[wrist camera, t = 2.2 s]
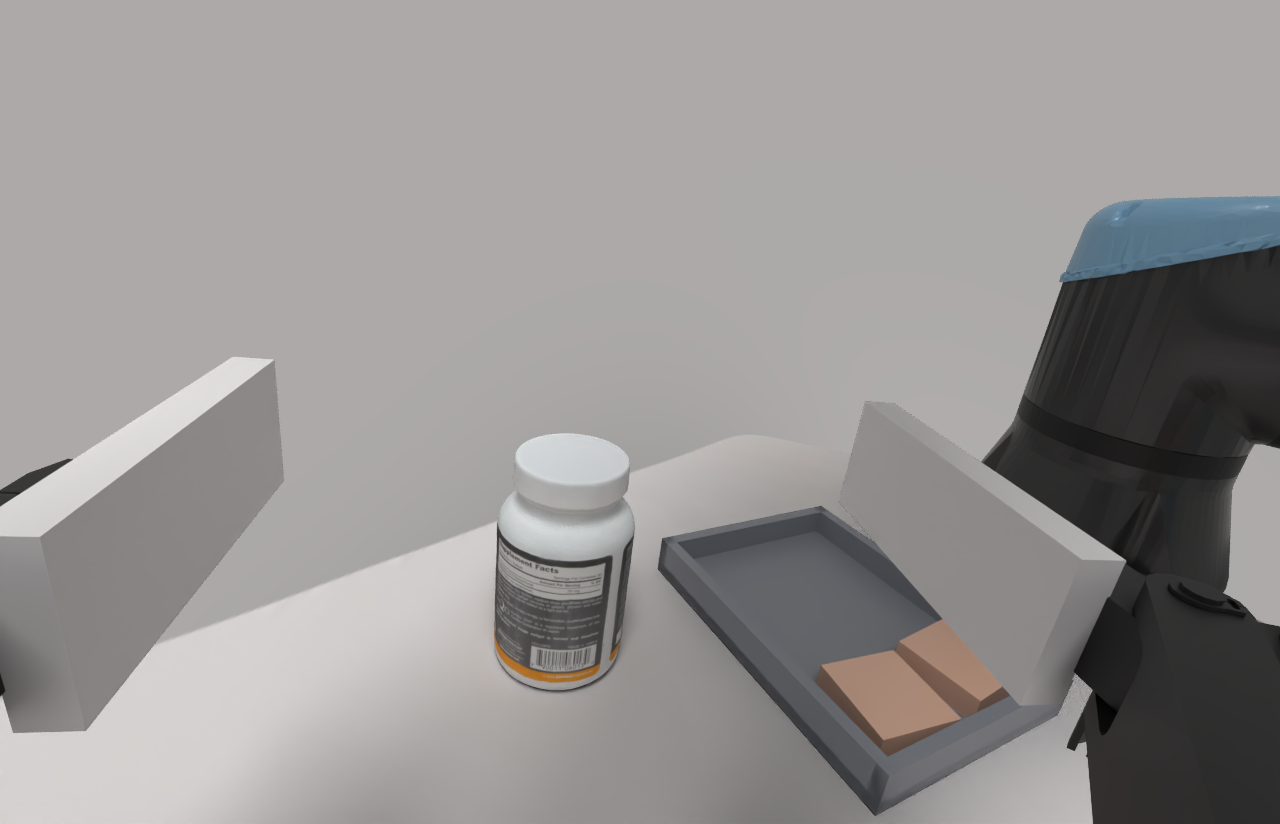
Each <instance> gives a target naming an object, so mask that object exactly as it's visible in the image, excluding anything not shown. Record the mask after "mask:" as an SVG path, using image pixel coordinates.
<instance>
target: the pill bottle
mask: <svg viewBox="0 0 1280 824" xmlns="http://www.w3.org/2000/svg"><path fill="white" fill-rule="evenodd" d="M629 471H630V461H629V458H628V456H627V454H626V453H625V452H624V451H623V450H622V449H621V448H619V447H618V446H616V445H615V444H613V443H611V442H608V441H606V440H603V439H600V438H596V437H592V436H587V435H581V434H572V433H563V434H551V435H544V436H540V437H536V438H533V439H531V440H529V441H527V442H525V443H524V444H522V445H521V446H520V447H519V448H518V450H517V451H516V454H515V458H514V474H513V481H514V485H515V488H516V490H515V491H514V492H513V493H511V494H510V496H509V497H508V498H507V499H506V500H505V502H504V504H503V505H502V508H501V510H500V513H499V517H498V523H497V557H496V559H497V561H496V589H495V622H494V628H495V630H494V638H495V651H496V655H497V657H498V659H499V662H500V663H501V664H502V666H503V667H504V668H505V669H506V671H507V672H508V673H509V674H510V675H511V676H513V677H514V678H515V679H517V680H519V681H521V682H523V683H525V684H527V685H530V686H533V687H537V688H540V689H547V690H566V689H573V688H576V687H580V686H582V685H586V684H589V683H590V682H592V681H594V680H596V679H597V678H599V677H600V676H602V675H603V674H604V673H605V672H606V671H607V670H608V669H609V668H610V666H611V665H612V663H613V662H614V660H615V658H616V655H617V652H618V649H619V643H620V638H621V632H622V623H623V616H624V607H625V600H626V592H627V584H628V577H629V569H630V563H631V554H632V547H633V539H634V530H635V524H634V517H633V514H632V511H631V509H630V507H629V505H628V503H627V502H626V501H625V500H624V498H623V496H624V494H625V493H626V491H627V489H628V483H629Z"/></svg>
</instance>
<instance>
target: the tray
mask: <svg viewBox="0 0 1280 824" xmlns="http://www.w3.org/2000/svg"><path fill="white" fill-rule="evenodd" d="M658 569H659V571H660V572H661V573H662V574H663V575H664V576H665V577H666V579H667V580H668V581H669V582H670V583H671V584H672V585H673V586H674V588H675V589H676V590H677V591H678V592H679V593H680V594H681V596H682V597H683V598H684V599H685V600H686V601H687V602H688V603H689V605H690V606H691V607H692V608H693V609H694V610H695V611H696V613H697V614H698V615H699V616H700V617H701V618H702V619H703V620H704V622H705V623H706V624H707V625H708V626H709V627H710V628H711V630H712V631H713V632H714V633H715V634H716V635H717V636H718V637H719V639H720V640H721V641H722V642H723V643H724V644H725V645H726V647H727V648H728V649H729V650H730V651H731V652H732V653H733V654H734V656H735V657H736V658H737V659H738V660H739V661H740V662H741V664H742V665H743V666H744V667H745V668H746V669H747V670H748V672H749V673H750V674H751V675H752V676H753V677H754V678H755V679H756V681H757V682H758V683H759V684H760V685H761V686H762V687H763V689H764V690H765V691H766V692H767V693H768V694H769V695H770V696H771V698H772V699H773V700H774V701H775V702H776V703H777V704H778V706H779V707H780V708H781V709H782V710H783V711H784V712H785V713H786V715H787V716H788V717H789V718H790V719H791V720H792V721H793V723H794V724H795V725H796V726H797V727H798V728H799V729H800V730H801V732H802V733H803V734H804V735H805V736H806V737H807V738H808V740H809V741H810V742H811V743H812V744H813V745H814V746H815V747H816V749H817V750H818V751H819V752H820V753H821V754H822V755H823V757H824V758H825V759H826V760H827V761H828V762H829V763H830V764H831V766H832V767H833V768H834V769H835V770H836V771H837V772H838V774H839V775H840V776H841V777H842V778H843V779H844V780H845V781H846V783H847V784H848V785H849V786H850V787H851V788H852V789H853V791H854V792H855V793H856V794H857V795H858V796H859V797H860V798H861V800H862V801H863V802H864V803H865V804H866V805H867V806H868V808H869V809H870V810H871V811H872V812H873V813H874V814H875V816H876V815H877V814H879V813H881V812H883V811H885V810H886V809H888V808H890V807H892V806H894V805H895V804H897V803H899V802H901V801H903V800H904V799H906V798H908V797H910V796H912V795H913V794H915V793H917V792H919V791H921V790H923V789H924V788H926V787H928V786H930V785H932V784H933V783H935V782H937V781H939V780H941V779H942V778H944V777H946V776H948V775H950V774H951V773H953V772H955V771H957V770H959V769H960V768H962V767H964V766H966V765H968V764H969V763H971V762H973V761H975V760H977V759H978V758H980V757H982V756H984V755H986V754H987V753H989V752H991V751H993V750H995V749H996V748H998V747H1000V746H1002V745H1004V744H1005V743H1007V742H1009V741H1011V740H1013V739H1014V738H1016V737H1018V736H1020V735H1022V734H1023V733H1025V732H1027V731H1029V730H1031V729H1032V728H1034V727H1036V726H1038V725H1040V724H1041V723H1043V722H1045V721H1047V720H1049V719H1051V718H1052V717H1054V716H1056V715H1058V713H1059V711H1060V709H1061V707H1062V704H1063V702H1064V700H1065V698H1066V696H1067V694H1068V691H1069V689H1070V687H1071V685H1072V683H1073V681H1074V680H1072V681H1071V683H1070V685H1069V688H1068V690H1067V692H1066V694H1065V696H1064V699H1063V701H1062V703H1061V705H1028V706H1019V704H1018V703H1017V702H1016V701H1015V700H1014V699H1013V698H1012V697H1011V696H1009V697H1007V698H1005V699H1003V700H1001V701H999V702H997V703H995V704H993V705H991V706H989V707H987V708H985V709H983V710H981V711H979V712H977V713H975V714H973V715H971V716H969V717H967V718H965V717H964V716H963V715H962V714H960V713H959V712H958V711H956V710H955V709H954V708H952V707H951V706H950V705H949V704H947V703H946V702H945V701H944V702H945V703H946V704H947V705H948V706H949V707H950V708H951V709H952V710H953V711H954V712H955V713H956V714H957V715H958V716H959V717H960V718H961V721H959V722H957V723H955V724H953V725H951V726H949V727H947V728H944V729H942V730H940V731H938V732H936V733H934V734H932V735H930V736H928V737H926V738H924V739H922V740H920V741H918V742H916V743H914V744H912V745H910V746H908V747H906V748H904V749H902V750H900V751H898V752H896V753H894V754H892V755H890V756H888V757H887V755H886V754H885V753H884V752H883V751H882V750H881V749H880V748H879V747H878V746H877V745H876V744H875V743H874V742H873V741H872V740H871V739H870V738H869V737H868V736H867V735H866V734H865V733H864V732H863V731H862V730H861V729H860V728H859V727H858V726H857V725H856V724H855V723H854V722H853V721H852V720H851V719H850V718H849V717H848V716H847V715H846V714H845V713H844V712H843V711H842V710H841V709H840V708H839V707H838V706H837V705H836V704H835V703H834V702H833V701H832V700H831V699H830V697H829V696H828V695H827V694H826V693H825V692H824V691H823V690H822V689H821V688H820V687H819V686H818V685H817V684H816V682H817V678H818V675H819V671H820V668H821V665H824V664H829V663H833V662H838V661H843V660H848V659H852V658H857V657H862V656H867V655H872V654H876V653H881V652H886V651H891V650H894V651H895V652H896V649H897V646H898V643H899V641H900V640H902V639H904V638H906V637H908V636H910V635H912V634H914V633H916V632H918V631H920V630H922V629H924V628H926V627H928V626H930V625H932V624H934V623H936V622H938V621H940V620H942V618H941V616H940V615H939V614H938V613H937V612H936V611H935V610H934V609H933V607H932V606H931V605H930V604H929V603H928V602H927V601H926V600H925V598H924V597H923V596H922V595H921V594H920V593H919V592H918V590H917V589H916V588H915V587H914V586H913V585H912V584H911V583H910V581H909V580H908V579H907V578H906V577H905V576H904V575H903V574H902V572H901V571H900V570H899V569H898V568H897V567H896V566H895V565H894V563H893V562H892V561H891V560H890V559H889V558H888V557H887V556H886V554H885V553H884V552H883V551H882V550H881V549H880V548H879V546H878V545H877V544H875V543H874V542H872V541H871V540H869V539H868V538H867V537H865V536H864V535H862V534H861V533H859V532H858V531H856V530H855V529H854V528H852V527H851V526H849V525H848V524H846V523H845V522H843V521H842V520H840V519H839V518H838V517H836V516H835V515H833V514H832V513H830V512H829V511H827V510H826V509H825V508H823V507H822V506H819V507H814V508H809V509H804V510H800V511H795V512H790V513H785V514H780V515H775V516H770V517H765V518H760V519H755V520H751V521H746V522H741V523H736V524H731V525H726V526H721V527H716V528H711V529H707V530H702V531H697V532H692V533H687V534H682V535H677V536H672V537H667V538H662V544H661V551H660V558H659V564H658Z"/></svg>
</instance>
